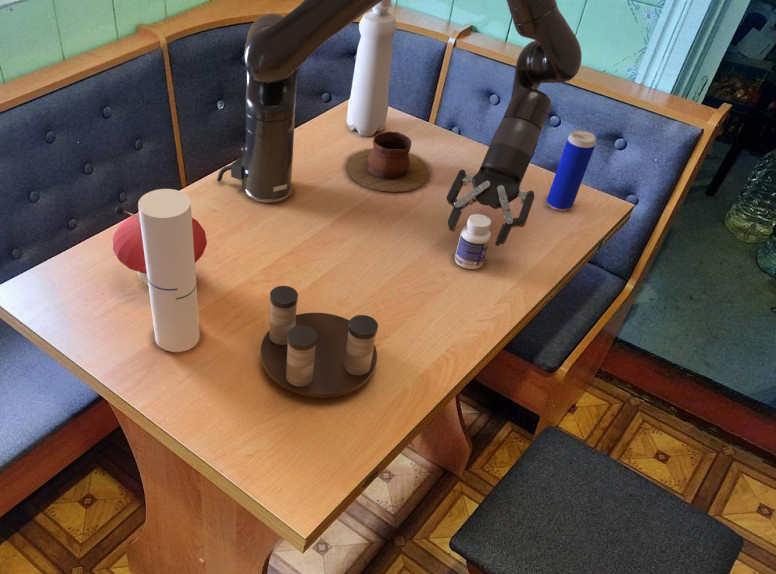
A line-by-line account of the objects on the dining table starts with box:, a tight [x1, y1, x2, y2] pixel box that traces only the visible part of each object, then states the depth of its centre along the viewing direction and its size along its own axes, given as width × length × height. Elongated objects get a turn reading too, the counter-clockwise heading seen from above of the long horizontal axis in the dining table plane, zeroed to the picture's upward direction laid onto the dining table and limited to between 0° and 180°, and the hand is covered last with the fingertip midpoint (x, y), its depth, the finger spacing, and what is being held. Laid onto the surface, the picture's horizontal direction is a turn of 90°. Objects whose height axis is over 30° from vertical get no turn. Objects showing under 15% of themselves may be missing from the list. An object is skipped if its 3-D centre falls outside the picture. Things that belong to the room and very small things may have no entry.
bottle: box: [346, 0, 398, 137], centre depth 157 cm, size 9×9×30 cm
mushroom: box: [112, 206, 208, 288], centre depth 122 cm, size 16×16×15 cm
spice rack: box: [260, 285, 379, 399], centre depth 110 cm, size 18×18×9 cm
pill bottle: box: [454, 213, 492, 270], centre depth 130 cm, size 5×5×9 cm
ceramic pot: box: [345, 130, 431, 193], centre depth 152 cm, size 18×18×7 cm
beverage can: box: [546, 129, 597, 212], centre depth 142 cm, size 5×5×15 cm
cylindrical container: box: [137, 188, 201, 353], centre depth 108 cm, size 7×7×25 cm
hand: (473, 237), depth 129 cm, fingers open, 8 cm apart
